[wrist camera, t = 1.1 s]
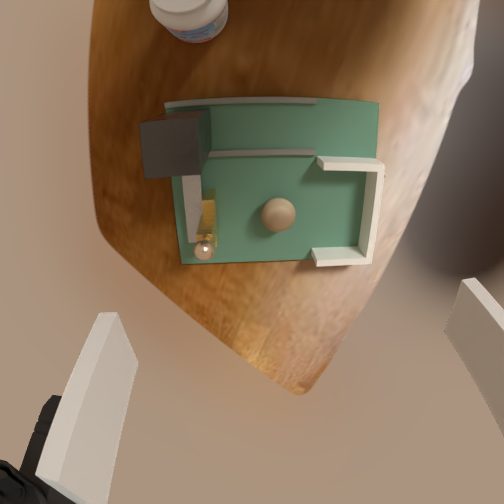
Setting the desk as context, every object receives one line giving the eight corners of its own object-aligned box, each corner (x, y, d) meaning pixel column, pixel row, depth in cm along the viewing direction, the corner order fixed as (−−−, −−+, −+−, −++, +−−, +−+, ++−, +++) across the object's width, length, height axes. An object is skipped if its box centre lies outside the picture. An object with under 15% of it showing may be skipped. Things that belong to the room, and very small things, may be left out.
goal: (315, 154, 33) (323, 162, 30) (372, 157, 33) (385, 164, 30) (310, 251, 38) (316, 266, 35) (361, 249, 39) (371, 263, 36)
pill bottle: (159, 35, 26) (123, 12, 16) (183, -15, 23) (160, -56, 13) (214, 51, 27) (203, 32, 17) (238, 1, 25) (240, -38, 15)
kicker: (170, 111, 29) (138, 122, 20) (214, 108, 29) (203, 116, 20) (181, 234, 36) (162, 291, 26) (220, 232, 36) (215, 290, 26)
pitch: (166, 102, 29) (164, 102, 28) (376, 102, 30) (380, 103, 29) (182, 261, 38) (181, 266, 37) (361, 254, 39) (364, 258, 38)
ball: (259, 193, 34) (261, 204, 31) (293, 192, 34) (299, 203, 31) (259, 224, 36) (262, 238, 33) (291, 223, 36) (297, 237, 33)
